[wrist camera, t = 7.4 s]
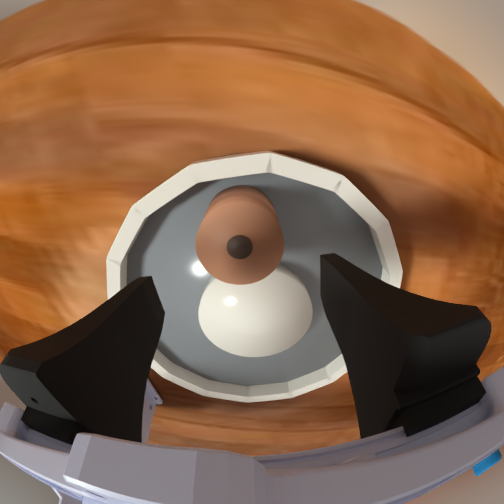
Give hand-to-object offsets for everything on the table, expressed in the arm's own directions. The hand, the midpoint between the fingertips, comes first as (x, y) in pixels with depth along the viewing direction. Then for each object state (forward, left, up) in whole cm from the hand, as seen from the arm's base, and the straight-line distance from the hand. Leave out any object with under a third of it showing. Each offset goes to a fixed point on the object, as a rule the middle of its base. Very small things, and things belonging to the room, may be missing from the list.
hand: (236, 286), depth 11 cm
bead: (0, 0, -8) cm, 8 cm away
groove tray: (-8, 0, -9) cm, 12 cm away
